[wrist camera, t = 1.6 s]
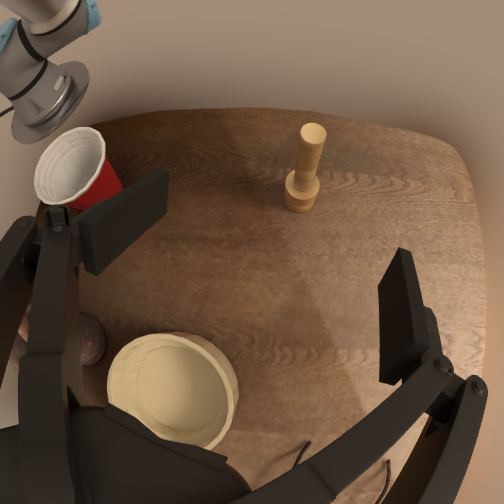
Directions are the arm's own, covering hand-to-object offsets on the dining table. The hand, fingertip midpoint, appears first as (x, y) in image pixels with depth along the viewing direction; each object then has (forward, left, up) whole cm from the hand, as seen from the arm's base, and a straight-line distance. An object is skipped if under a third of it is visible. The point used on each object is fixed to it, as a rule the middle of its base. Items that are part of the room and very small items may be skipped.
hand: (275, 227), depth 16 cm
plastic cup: (-27, 0, -23) cm, 35 cm away
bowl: (-4, -18, -23) cm, 29 cm away
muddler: (-1, +11, -23) cm, 25 cm away
